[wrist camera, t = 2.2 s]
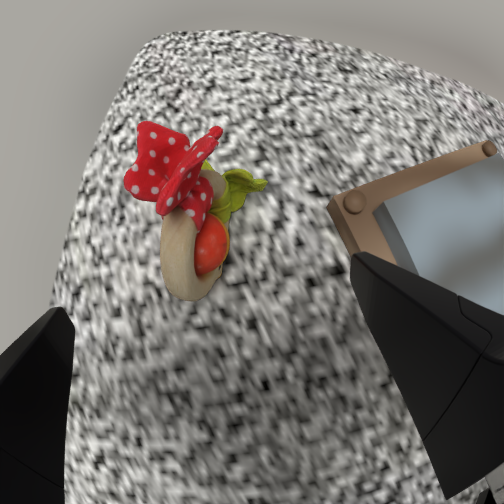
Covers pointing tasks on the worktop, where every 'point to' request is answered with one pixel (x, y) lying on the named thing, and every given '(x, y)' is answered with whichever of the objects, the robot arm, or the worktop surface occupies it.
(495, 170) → the wooden toy tray
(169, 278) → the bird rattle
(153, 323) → the worktop surface
